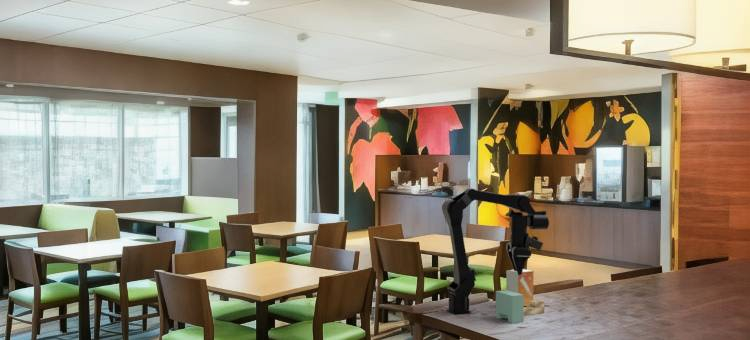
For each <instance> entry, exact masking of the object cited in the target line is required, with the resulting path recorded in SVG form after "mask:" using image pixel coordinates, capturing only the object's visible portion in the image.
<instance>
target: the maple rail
mask: <svg viewBox="0 0 750 340" xmlns="http://www.w3.org/2000/svg"><path fill="white" fill-rule="evenodd" d="M544 313H545V300H540V299H533V300H532V301H530V306H526V307H524V309H523V316H528V315H536V314H544Z"/></svg>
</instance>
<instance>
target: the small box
mask: <svg viewBox="0 0 750 340" xmlns="http://www.w3.org/2000/svg"><path fill="white" fill-rule="evenodd" d="M534 273H535V272H534V270H530V269H527V268H523V271H522V274H521V275H518V273H517V271H514V269H510V270H509V269H507V270H506V275H505V277H506V278H505V280H506V284H505V285H506V286H505V287H506V288H505V290H508V291H511V292H515V293H519V294H522V295H524V306H526V307H529V306H530V301H532V300H534Z"/></svg>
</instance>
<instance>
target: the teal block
mask: <svg viewBox="0 0 750 340" xmlns="http://www.w3.org/2000/svg"><path fill="white" fill-rule="evenodd" d="M523 309H524V295H522V294H519V293H515V292H511V291H508V290H506V289H505V290H504V289H503V290H496V291H495V318H496V317H497V318H496V319H498V318H500V319H499V320H502V319H501V318H505V319H507V321H508V323H510V322H511V323H510V324H519V323H523V322H524V315H523Z"/></svg>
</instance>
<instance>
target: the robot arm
mask: <svg viewBox="0 0 750 340" xmlns="http://www.w3.org/2000/svg"><path fill="white" fill-rule="evenodd" d="M473 201H478V202H485V203H491V204H497V205H501V206H504V207H505V208H509V209H510V210H509V211H508V212H507V213H505V215H504V216H505V217H509V218H510V231H509V235H510V241H508V242H507V243H506V244H505V245H506V247H505V250H506V252H507V255H508V257H509V261H510V263H511V266H512V268H513V269H512V270H514V271H517V273H518V275H521V274H522V271H523V269H524V266H525V263H526V261H527V260H528V259H530V258H531V256H532V249H535V250H537V251H539V252H541V250H542V247H543V246H544V242H543V241H541V240H539V238H538V236H535V235H533V236H531V237H530V234H529V233H528V228H529V229H530V230H531V231H532V230H534V231H535V230H539V231H540V230H544V231H545V230H548V228H549V225H550V220H549V217H548V214H547V211H546V210H537V211H536V210H535V209H534V207H533V206H532V204H531V199H530V198H529V197H528V195H525V194H517V193H516V194H515V193H513V194H512V193H511V194H510V193H508V194H507V193H506V194H501V193H496V192H489V191H483V190H478V189H475V188H467V189H465V190H464V191H463V192H461V193H458V195H456V196H455V197H453V198H452V199H447V200H445V201H444V202H443V203H442V205H441V211H442V214H443V216H444V217H443V218H444V219H445V221H446V223H447V226H448V229H449V237H450V241H451V242H450V243H451V248H452V254H453V260H454V269H453V280H452V282H450V283H449V284H448V285H447V286H446V288H447V290H448V291H447V292H448V293H449V294H448V308H447V309H446V311H447V312H449V313H451V314H455V315H460V314H461V315H463V314H468V313H471V312H472V311H471V310H470V293H471V291H472V290H473V289H474V287H476V286H475V285H476V283H475V282H477V279H476V275H475V273H476V272H475V269H474V268H473V267H470V266H469V265H468V259H467V253H466V247H465V241H464V234H463V228H462V222H463V217H464V210H465V209H467V208H468V207H469V206H470V204H472V202H473ZM516 211H517V212H516ZM523 213H524V214H523ZM530 248H532V249H530Z"/></svg>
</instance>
